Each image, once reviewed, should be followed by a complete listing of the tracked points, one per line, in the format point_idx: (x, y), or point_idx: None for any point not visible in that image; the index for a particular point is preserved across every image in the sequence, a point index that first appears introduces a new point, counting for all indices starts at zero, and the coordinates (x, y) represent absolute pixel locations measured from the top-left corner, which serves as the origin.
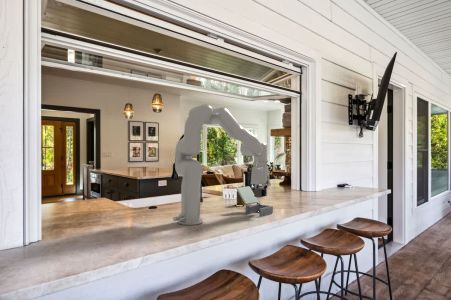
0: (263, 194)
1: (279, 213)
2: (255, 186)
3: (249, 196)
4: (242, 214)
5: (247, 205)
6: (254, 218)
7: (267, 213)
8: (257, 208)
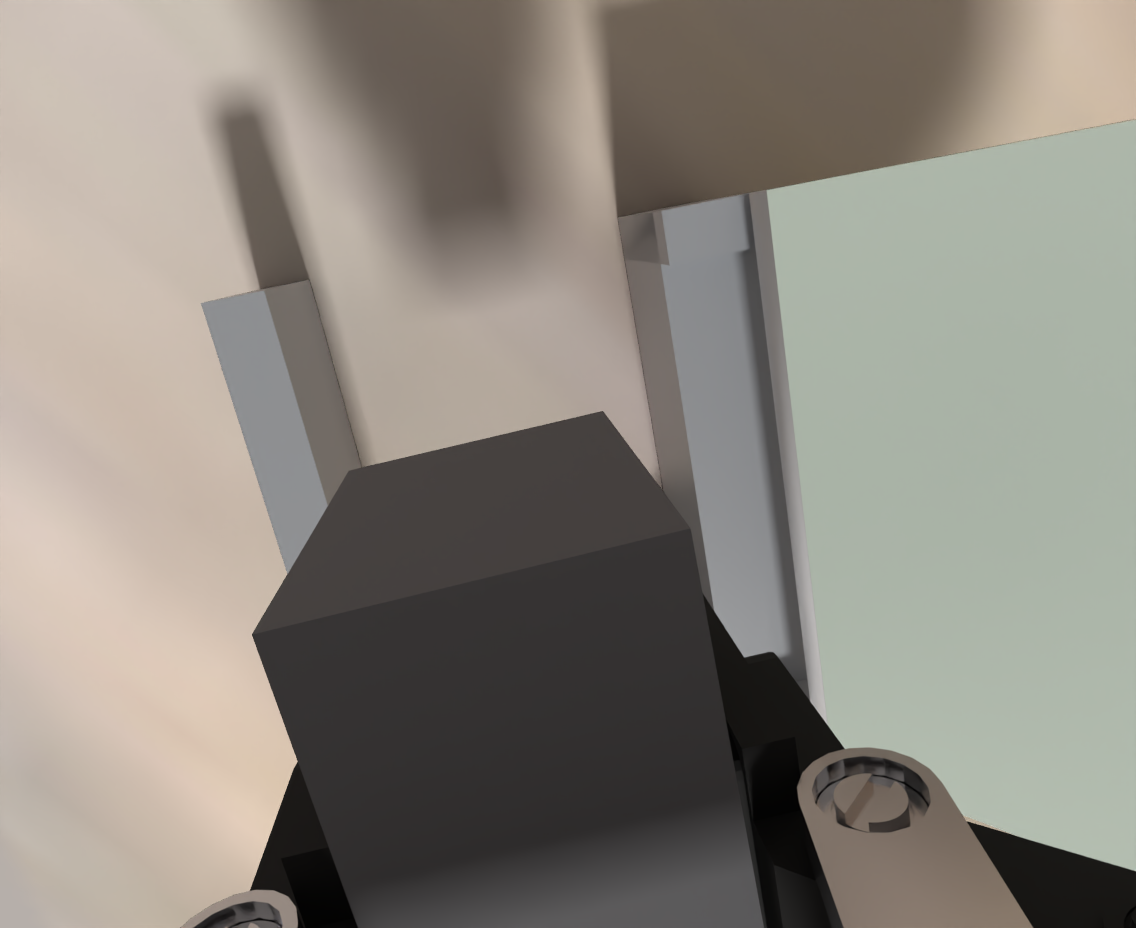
0: None
1: None
2: (904, 870)
3: (1029, 563)
4: (697, 91)
5: (701, 203)
6: (187, 10)
7: None
8: None
